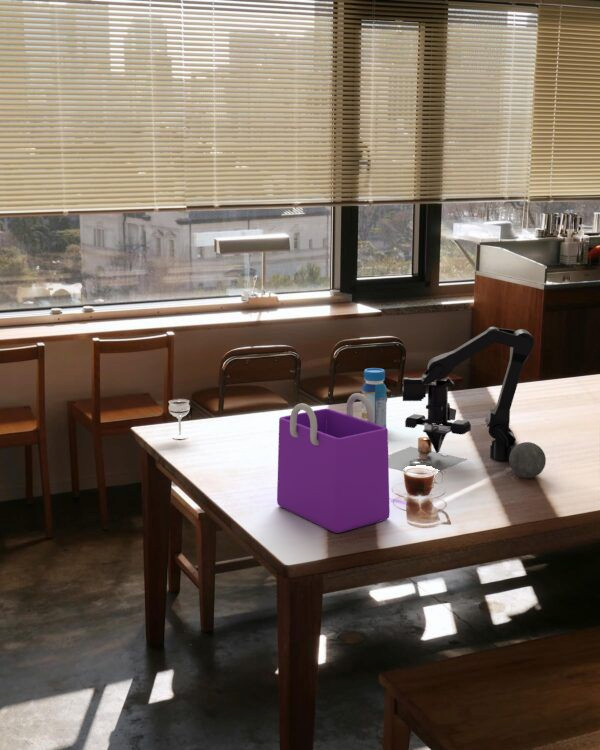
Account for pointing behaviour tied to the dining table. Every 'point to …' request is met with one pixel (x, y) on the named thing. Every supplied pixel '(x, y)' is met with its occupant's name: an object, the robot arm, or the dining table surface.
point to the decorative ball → (527, 460)
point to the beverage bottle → (375, 395)
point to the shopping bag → (333, 467)
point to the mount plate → (404, 456)
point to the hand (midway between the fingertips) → (437, 452)
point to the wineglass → (179, 409)
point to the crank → (423, 452)
